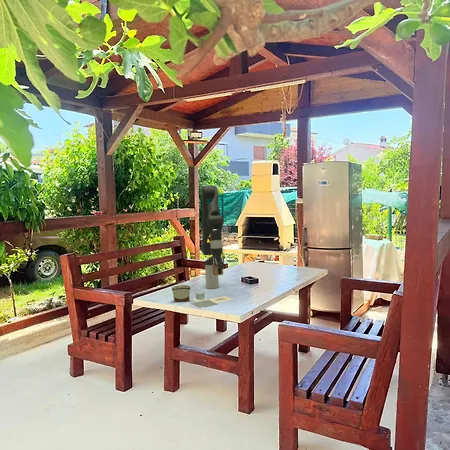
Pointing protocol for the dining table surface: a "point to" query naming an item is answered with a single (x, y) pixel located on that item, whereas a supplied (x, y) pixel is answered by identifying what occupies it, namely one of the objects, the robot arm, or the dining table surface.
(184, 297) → the food container
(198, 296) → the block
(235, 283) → the dining table surface
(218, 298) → the plaque
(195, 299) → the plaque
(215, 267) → the block
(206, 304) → the mat
